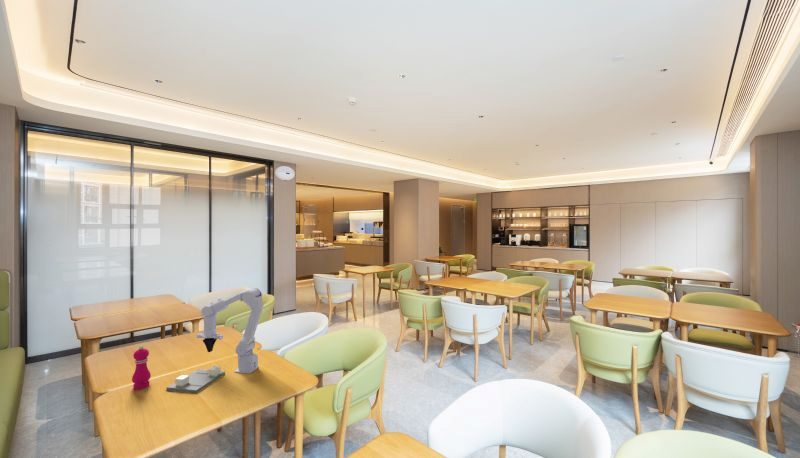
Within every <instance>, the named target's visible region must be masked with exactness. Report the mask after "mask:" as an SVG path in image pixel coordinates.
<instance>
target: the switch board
mask: <svg viewBox="0 0 800 458" xmlns="http://www.w3.org/2000/svg"><path fill="white" fill-rule="evenodd" d="M225 375H226V371H223V370H221V372H220V373H219V374H217V375H216V376H212V375H208V369H199V368H198V369H196V370H194V371H193V372H190V373H189V374H187V376H189V382H188V383H186V384H185V385H183V386H181V385H175V382H173V383H171V384H170V385H168V386H166V391H168V392H169V391H170V392H178V393H179V392H181V393H187V394H188V393H190V394H197V393H199V392H200V391H202V390H204V389H206V387H208V386H210V385H211V384H213V383H214V382H216V381H218V380H219V379H220V378H222V377H224V376H225Z"/></svg>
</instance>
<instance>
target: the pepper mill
mask: <svg viewBox="0 0 800 458" xmlns="http://www.w3.org/2000/svg"><path fill="white" fill-rule="evenodd" d="M149 355H150V351H149V350H148V349H147V348H145V347H144V346H143V345H140V346H139V347H138V349H137V350H135V351H134V353H133V355H132V357H133V359H134V364H135V370H134V371H133V372H134V373H133V374H132V377H131V382H132V383H133V384H132V385H133V386H132V389H133V390H136V391H137V390H143V389H146V388H147V387H149V386H150V379H151V372H150V370H149V368H148V365H147V362H148V357H149Z"/></svg>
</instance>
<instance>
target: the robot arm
mask: <svg viewBox="0 0 800 458" xmlns="http://www.w3.org/2000/svg"><path fill="white" fill-rule="evenodd" d="M238 301H240V302H244V303H245V304H246V305H247V306H248V307H249V308H250V309H251V310H250V313H249V317H248V320H247V323H246V327H245V330H244V333H243V336H241V339H240V340H239V342H238V344H237V345H236V347H235V350H234V351H235V353H236V354H237V369H235V370H234V373H239V374H241V373H242V374H251V373H253V372H255V371H256V370H257V369H258V368H259V356H258V354H256V353H254V352H253V351H254V350H253V349H254V348H255V346H256V343H255V342H256V341H255V340H256V337H255V334H256V331H257V328H258V324H259V322H260V318H261V315H262V312H263V309H264V304H263V303H264V302H263V292H262V291H261V290H260V289H259V288H257V287H253V288H252V289H248V290H245V291H241V292H238V293H236V294H235V295H233V296H230V297H229V298H227V299H226V298H218V299H217V300H216V301H215V302H210V303H209V304H207V305H205V306H203V307H202V309H201V312H200V313H201V315H202V316H203V333H201V332H200V333H197V334H196V338H197V339H200V338H201V339H202V343H203V344H204V345H205V348H206V350H207V353H211V352H213V350H214V346H215V343H216V342H217V340H223V339H224V335H223V334H220V333H217V314H218V313H219V312H222V311H224V310H226V309H227V308H228V307H229V305H232V304H234V303H235V302H238Z"/></svg>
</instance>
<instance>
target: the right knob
mask: <svg viewBox="0 0 800 458" xmlns="http://www.w3.org/2000/svg"><path fill="white" fill-rule="evenodd" d="M207 370H208V375H212V376H216V375H217V374H219V373H220V372H221V371H222V370H221V366H218V365H217V366H215V365H214V366H211V367H209V368H208V369H207Z"/></svg>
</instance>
